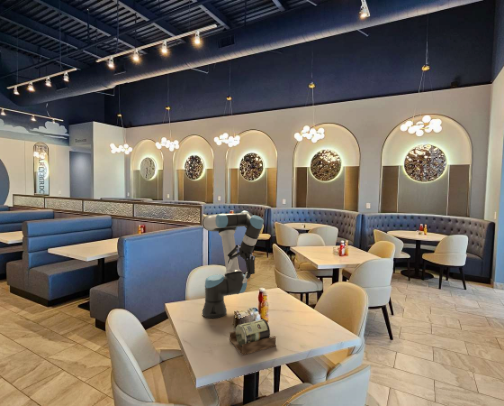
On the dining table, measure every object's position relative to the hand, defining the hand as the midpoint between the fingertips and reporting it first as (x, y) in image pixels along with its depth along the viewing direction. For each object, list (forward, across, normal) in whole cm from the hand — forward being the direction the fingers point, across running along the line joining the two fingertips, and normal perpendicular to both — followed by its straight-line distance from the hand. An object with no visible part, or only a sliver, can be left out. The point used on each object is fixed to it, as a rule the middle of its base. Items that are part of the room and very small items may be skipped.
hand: (236, 275), depth 168 cm
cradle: (+19, +30, -8) cm, 36 cm away
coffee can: (+15, +26, -16) cm, 34 cm away
